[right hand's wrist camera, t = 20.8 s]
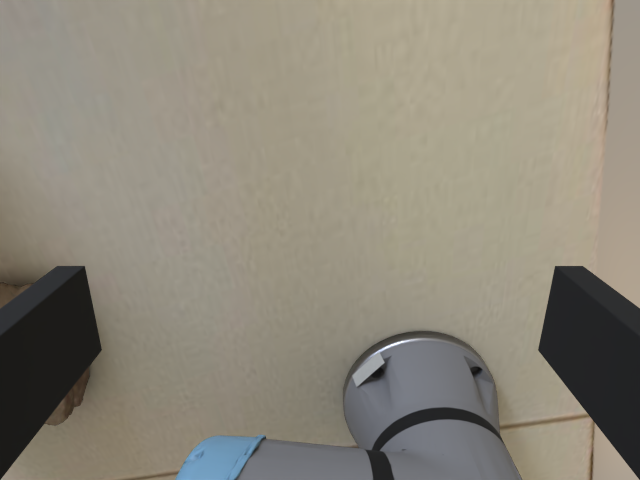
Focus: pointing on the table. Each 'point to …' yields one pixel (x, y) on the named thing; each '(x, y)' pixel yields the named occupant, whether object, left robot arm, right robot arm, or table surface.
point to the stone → (3, 295)
